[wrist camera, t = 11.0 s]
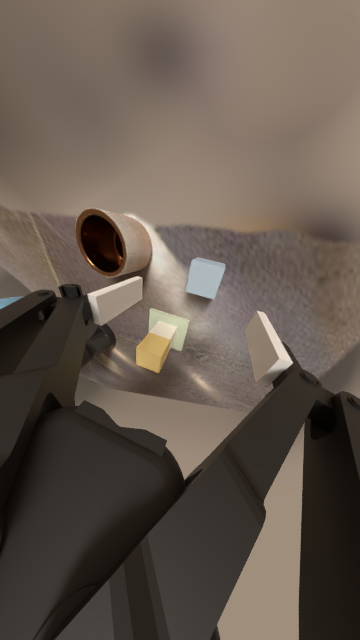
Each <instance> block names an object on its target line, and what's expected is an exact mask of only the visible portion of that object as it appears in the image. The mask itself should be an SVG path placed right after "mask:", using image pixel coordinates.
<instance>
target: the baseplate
mask: <svg viewBox="0 0 360 640" xmlns="http://www.w3.org/2000/svg"><path fill="white" fill-rule="evenodd" d="M189 322H190V320H188V319H185V318H182V317H178V316H175V315H172V314H169V313H166V312H163V311H160V310H156V309H153V308H151V309H150V317H149V332H150V333H153V334H156V335H159V336H161V337H164V338H167V339H170V340H171V341H170V346H169V351H170V349H171V348H173V349H176V350H179V351H182V348H183V344H184V340H185V337H186V333H187V329H188V326H189ZM169 351H168V353H169Z"/></svg>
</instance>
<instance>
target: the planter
mask: <svg viewBox="0 0 360 640" xmlns="http://www.w3.org/2000/svg"><path fill="white" fill-rule="evenodd" d="M75 235H76V241H77V244H78V247H79V250H80V252H81V254H82V256H83V258H84V259H85V261H86V262H87V264H88V265H89V266H90V267H91V268H92V269H93V270H94V271H95V272H97V273H98V274H100V275H102V276H104V277H109V278H113V277H117V276H121V275H124V274H128V273H131V272H135V271H139V270H141V269H143V268H144V267H146V266H147V264H148V263H149V261H150V258H151V254H152V245H151V240H150V237H149V235H148V233H147V231H146V229H145V228H144V227H143V225H142V224H141V223H140V222H138V221H137V220H135V219H133V218H131V217H128V216H124V215H120V214H116V213H112V212H108V211H104V210H101V209H97V208H87V209H85V210H83V211H82V212H81V213H80V214H79V216H78V218H77V221H76V225H75Z"/></svg>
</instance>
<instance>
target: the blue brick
mask: <svg viewBox="0 0 360 640" xmlns="http://www.w3.org/2000/svg"><path fill="white" fill-rule="evenodd" d="M224 270H225V264H224V263H220V262H215V261H211V260H207V259H203V258H198V257H197V258H195V259H193V260H192V262H191V267H190V272H189V277H188V281H187V286H186V291H185V292H189V293H192V294H196V295H199V296H203V297H206V298H210V299H215V296H216V293H217V290H218V287H219V284H220V282H221V279H222V276H223V273H224Z"/></svg>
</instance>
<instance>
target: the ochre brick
mask: <svg viewBox="0 0 360 640" xmlns="http://www.w3.org/2000/svg"><path fill="white" fill-rule="evenodd" d="M170 341H171V340H170V339H167V338H164V337H161V336H159V335H156V334H153V333H150V332H149V333H148V334H147V336H146V337H145V338H144V339H143V340H142V341H141V343H140V344H139V345H138V346H137V347H136V363H137V365H139V366H141V367H144V368H147V369H149V370H152V371H154V372H157V373H159V372H160V370H161V368H162V366H163V364H164V362H165V360H166V358H167V356H168V351H169V346H170Z"/></svg>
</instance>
